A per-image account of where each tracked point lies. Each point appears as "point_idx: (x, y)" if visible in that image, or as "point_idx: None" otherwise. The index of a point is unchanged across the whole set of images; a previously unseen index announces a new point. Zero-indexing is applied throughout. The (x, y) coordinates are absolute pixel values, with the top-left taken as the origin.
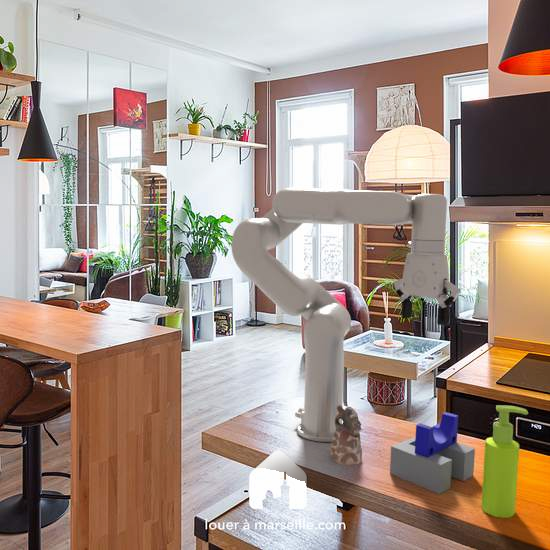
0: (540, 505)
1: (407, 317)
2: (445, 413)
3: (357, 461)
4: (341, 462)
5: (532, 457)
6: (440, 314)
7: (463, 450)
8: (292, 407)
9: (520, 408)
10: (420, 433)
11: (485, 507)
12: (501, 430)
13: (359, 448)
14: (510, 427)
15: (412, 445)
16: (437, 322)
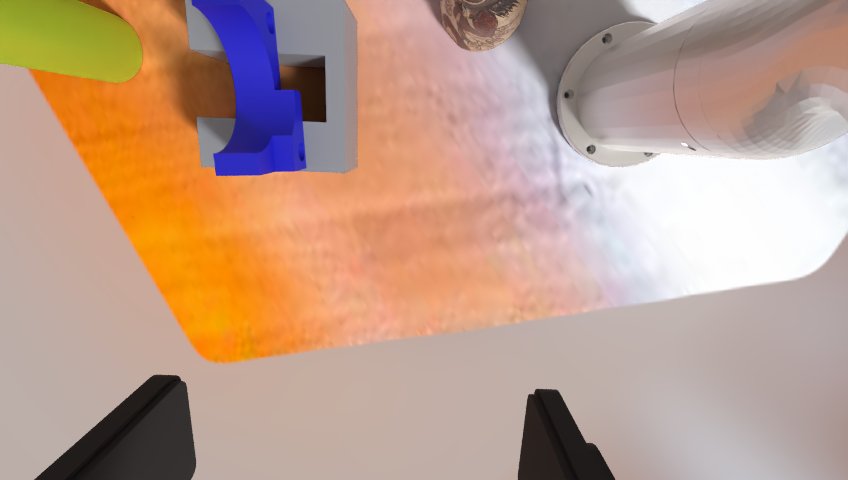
0: (78, 138)
1: (524, 429)
2: (251, 162)
3: (441, 2)
4: None
5: (215, 342)
6: (82, 443)
7: (210, 131)
8: (798, 188)
9: None
10: None
11: (110, 13)
12: None
13: (448, 8)
14: None
15: (310, 54)
16: (174, 386)
